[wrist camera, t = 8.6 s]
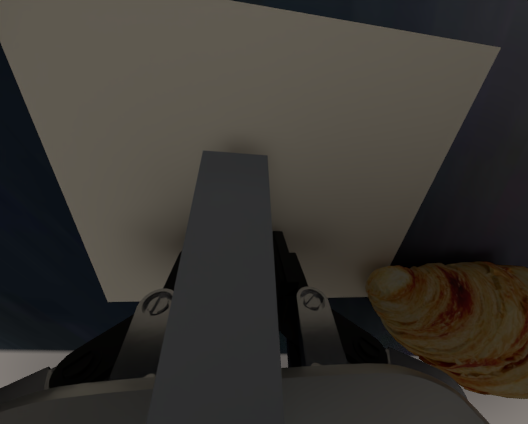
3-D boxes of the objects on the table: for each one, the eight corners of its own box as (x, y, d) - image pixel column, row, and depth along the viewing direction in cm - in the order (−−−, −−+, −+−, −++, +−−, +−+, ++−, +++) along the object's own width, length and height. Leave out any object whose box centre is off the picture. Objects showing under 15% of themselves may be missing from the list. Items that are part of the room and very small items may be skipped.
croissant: (316, 261, 17) (325, 374, 13) (437, 199, 10) (573, 418, 5) (456, 306, 23) (498, 394, 19) (596, 288, 16) (728, 427, 11)
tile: (267, 155, 6) (284, 430, 3) (251, 242, 12) (251, 363, 9) (202, 150, 6) (141, 445, 3) (219, 241, 12) (206, 366, 8)
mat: (485, 51, 9) (500, 47, 8) (369, 290, 16) (374, 296, 15) (-13, -33, 6) (-37, -47, 6) (113, 294, 14) (107, 301, 13)
